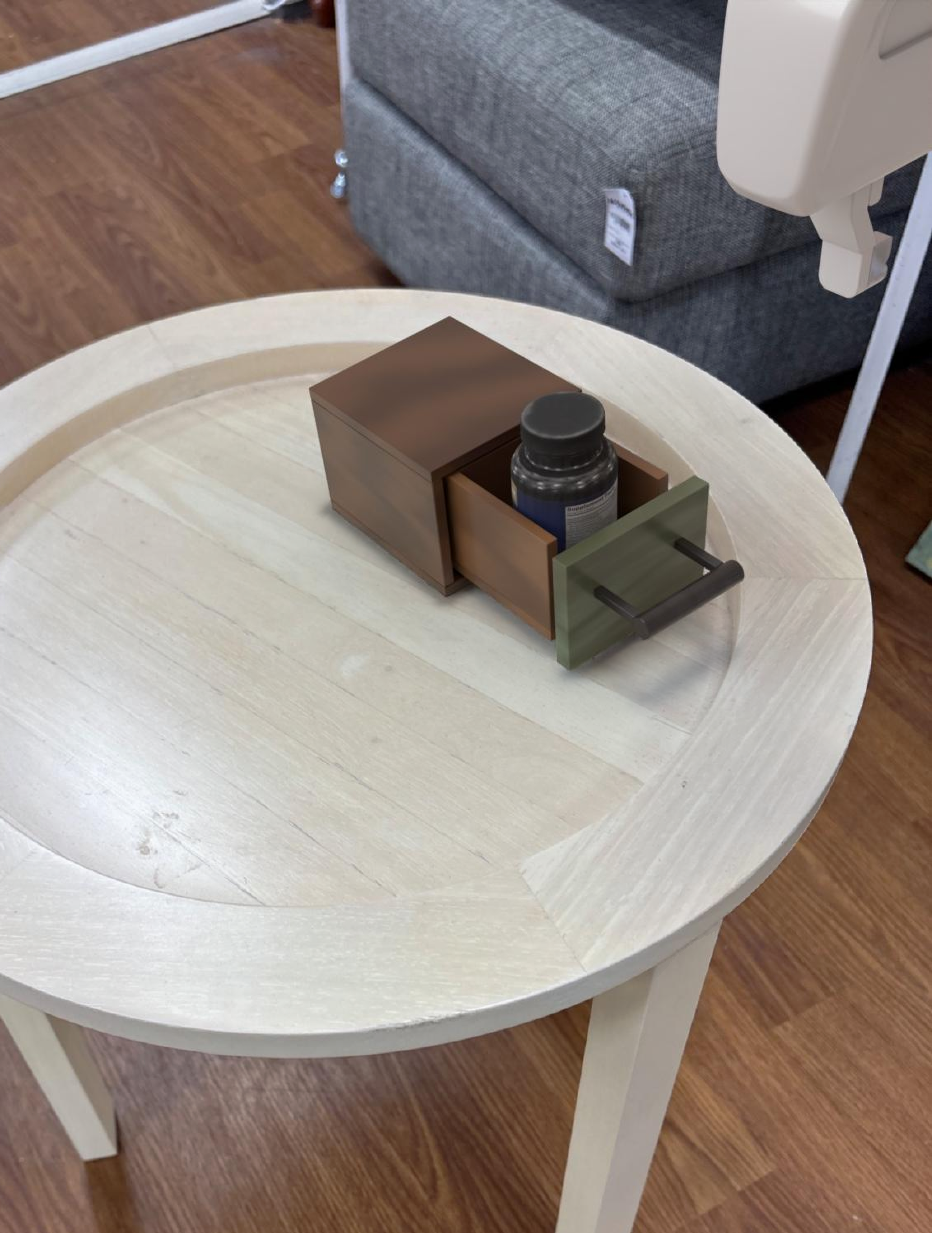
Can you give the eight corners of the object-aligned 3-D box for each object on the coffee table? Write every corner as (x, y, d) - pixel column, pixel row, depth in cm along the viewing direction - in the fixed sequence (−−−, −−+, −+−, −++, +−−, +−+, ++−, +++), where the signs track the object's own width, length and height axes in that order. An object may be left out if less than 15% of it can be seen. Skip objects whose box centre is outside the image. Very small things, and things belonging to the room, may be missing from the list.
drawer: (760, 627, 76) (772, 519, 70) (624, 714, 74) (625, 608, 68) (567, 503, 87) (564, 400, 81) (442, 575, 84) (430, 473, 78)
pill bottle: (499, 561, 82) (487, 408, 74) (583, 525, 83) (580, 370, 75) (549, 614, 78) (541, 458, 70) (636, 576, 79) (639, 418, 71)
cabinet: (585, 517, 87) (582, 389, 80) (446, 597, 84) (430, 472, 77) (461, 437, 95) (449, 315, 88) (331, 508, 93) (308, 387, 85)
